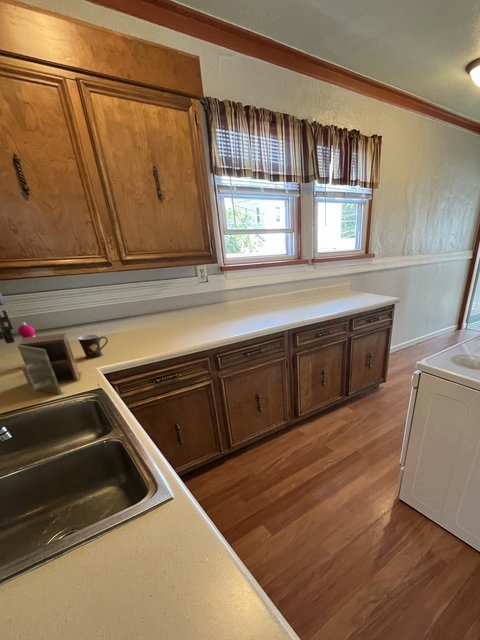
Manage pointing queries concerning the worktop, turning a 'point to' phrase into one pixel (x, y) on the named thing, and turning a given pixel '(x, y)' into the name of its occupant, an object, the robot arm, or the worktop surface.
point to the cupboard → (56, 355)
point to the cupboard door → (38, 370)
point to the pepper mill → (26, 331)
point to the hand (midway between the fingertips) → (4, 340)
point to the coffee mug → (91, 345)
